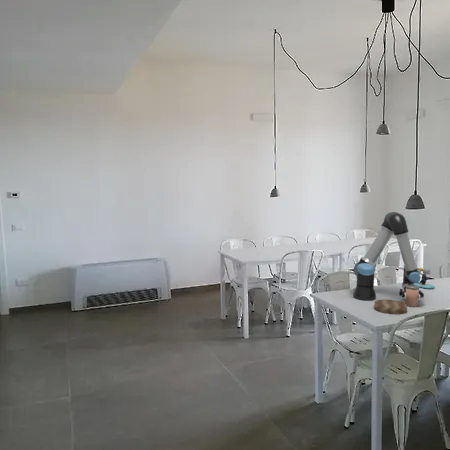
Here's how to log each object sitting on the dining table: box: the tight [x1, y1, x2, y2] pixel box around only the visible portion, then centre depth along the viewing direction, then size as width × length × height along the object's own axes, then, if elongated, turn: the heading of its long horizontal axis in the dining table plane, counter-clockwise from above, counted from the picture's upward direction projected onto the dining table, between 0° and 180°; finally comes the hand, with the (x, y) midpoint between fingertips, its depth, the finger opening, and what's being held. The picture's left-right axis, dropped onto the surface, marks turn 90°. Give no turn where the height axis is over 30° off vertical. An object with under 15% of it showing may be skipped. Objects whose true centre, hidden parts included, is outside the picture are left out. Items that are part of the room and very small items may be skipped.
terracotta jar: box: [404, 285, 420, 308], centre depth 320 cm, size 8×8×13 cm
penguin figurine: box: [414, 267, 436, 289], centre depth 372 cm, size 20×11×15 cm, turn 43°
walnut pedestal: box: [373, 298, 408, 315], centre depth 310 cm, size 20×20×4 cm
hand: (412, 297), depth 315 cm, fingers closed on terracotta jar, 8 cm apart
